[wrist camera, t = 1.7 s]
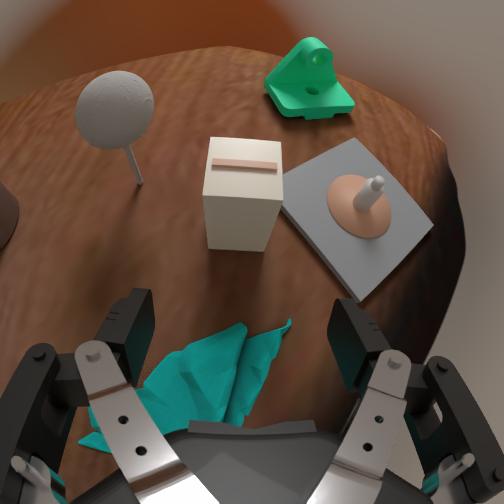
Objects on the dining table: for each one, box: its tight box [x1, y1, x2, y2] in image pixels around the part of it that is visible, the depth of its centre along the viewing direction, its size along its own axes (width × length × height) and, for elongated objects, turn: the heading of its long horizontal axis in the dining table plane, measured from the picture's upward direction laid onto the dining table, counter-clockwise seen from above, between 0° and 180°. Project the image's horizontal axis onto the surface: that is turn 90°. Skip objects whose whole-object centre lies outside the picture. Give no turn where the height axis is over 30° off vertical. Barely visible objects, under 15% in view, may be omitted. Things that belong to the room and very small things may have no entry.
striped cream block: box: [203, 137, 283, 252], centre depth 25 cm, size 6×6×10 cm
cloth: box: [78, 318, 291, 453], centre depth 22 cm, size 26×14×2 cm, turn 112°
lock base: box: [280, 137, 433, 303], centre depth 29 cm, size 16×16×6 cm
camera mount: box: [264, 37, 355, 120], centre depth 34 cm, size 12×8×10 cm, turn 109°
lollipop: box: [75, 71, 154, 185], centre depth 24 cm, size 7×7×15 cm
